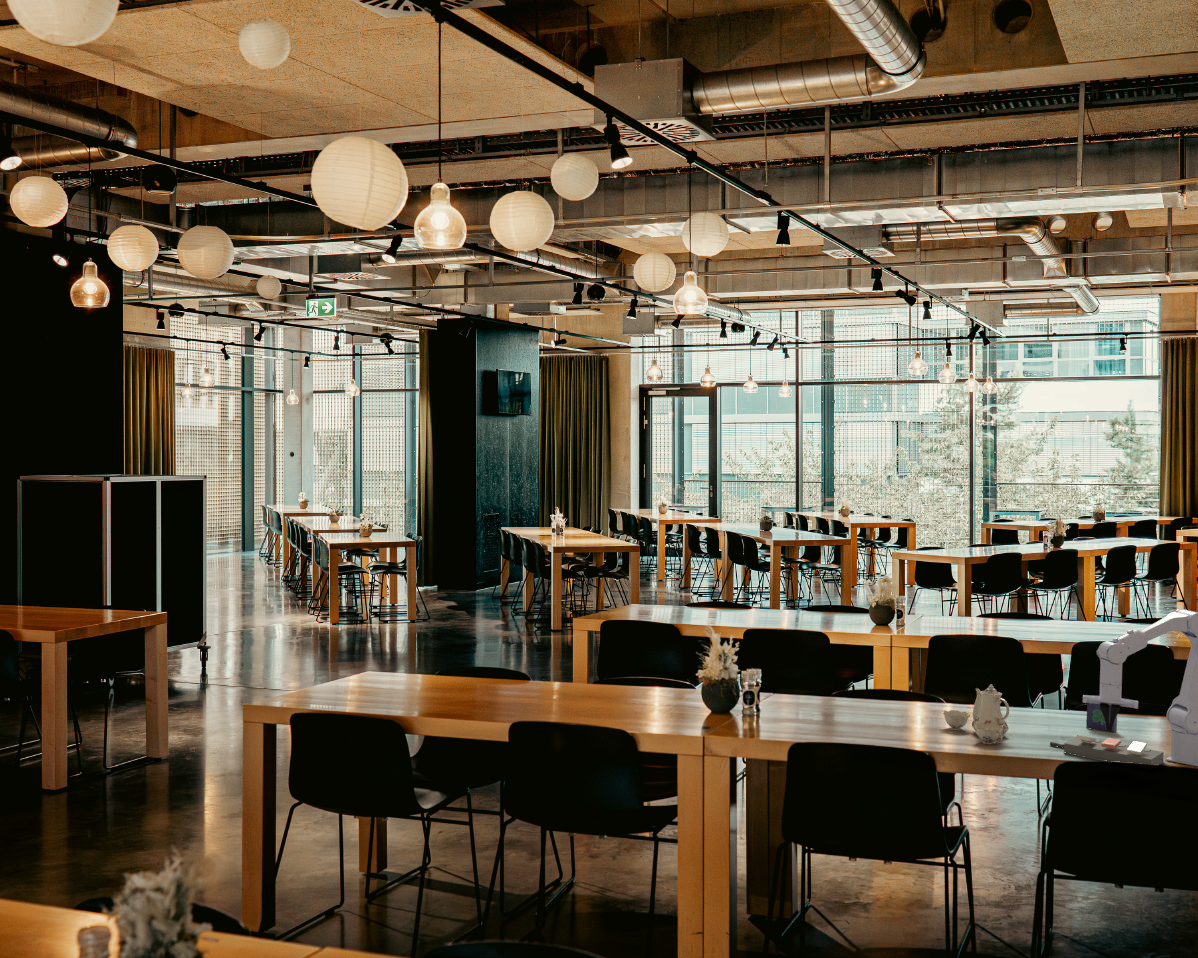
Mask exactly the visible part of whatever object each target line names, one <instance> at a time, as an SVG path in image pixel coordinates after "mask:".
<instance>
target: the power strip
mask: <svg viewBox="0 0 1198 958" xmlns="http://www.w3.org/2000/svg"><path fill="white" fill-rule="evenodd" d="M1103 741H1104V740H1100V739H1096V742H1091V743H1086V742H1081V739H1077V736H1076V737H1074V738H1072V739H1070V740H1068V741H1066V742H1063V743H1058V742H1054V741H1050V742H1049V746H1050V745H1052V746H1051V747H1054V746H1058V747H1057V748H1059V747H1063V748H1062V749H1063V753H1064V752H1066V753H1071V754H1076V755H1079V756H1078V757H1081V756H1085V757H1084V758H1086V757H1087V759H1091V758H1092V760H1095V761H1096V760H1098V761H1101V760H1107V761H1120V762H1133V763H1142V764H1160V765H1161V764H1163V763H1164V759H1165V758H1164V754H1165V753H1164V751H1160V750H1155V749H1150V748H1147V747H1146V748H1145V750H1144V751H1143V753H1142V754H1141V755H1137V754H1132V753H1127V749H1128V747H1129V746H1130V745H1128V744H1124V743H1121V744H1120V745H1119V746H1117V748H1115V749H1112V748H1107V747H1101V743H1102V742H1103ZM1076 755H1075V756H1076ZM1107 761H1106V762H1107Z"/></svg>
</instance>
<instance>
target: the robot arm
mask: <svg viewBox="0 0 1198 958" xmlns="http://www.w3.org/2000/svg"><path fill="white" fill-rule="evenodd" d="M1173 631H1175V632H1181V633H1182V634H1184V636H1185V637H1186V638H1187V639H1188V641H1189V642H1190V644H1191V646H1190V650H1189V654H1188V658H1187V662H1186V666H1185V670H1184V675H1183V678H1182V679H1183V680H1182V682H1181V686H1180V687H1181V688H1180V692H1179V695H1178V696H1176V697H1175V698H1174V699H1172V703H1171V704H1170V705H1171V706H1169V708H1167V709H1168V710H1167V712H1166V719H1167V722H1168V723H1169V724H1170V728H1171V729H1170V756H1168V757H1166V758H1165V761H1168V762H1173V763H1178V764H1185V765H1189V766H1195V767H1198V611H1197V612H1196V611H1193V610H1187V609H1186V608H1179V609H1176V610H1175V611H1172V612H1169V613H1168V614H1167V615H1166V616H1164V617H1163V618H1161V619H1159V620H1158V621H1155V622H1154V623H1152V624H1151V625H1148V626H1147V627H1145V628H1143V629H1142V630H1138V629H1128V630H1127V631H1126V632H1127V633H1124V634H1123V635H1121V636H1118V637H1117V636H1116V637H1113V638H1112V641H1108V640H1106V641H1103V642H1102V643H1100V645H1099V646H1098V648H1097V650H1096V655H1097V657H1098V658H1099V661H1100V662H1099V663H1100V665H1099V666H1100V671H1099V673H1100V674H1099V695H1088V694H1083V695H1082V704H1083V703H1085V704H1087V703H1095V704H1100V709H1101V711H1102V713H1103V716H1104V719H1105V722H1106V728H1107V730H1108V731H1112V727H1113V723H1114V720H1115V718H1116V716H1117V717H1118V714H1119V712H1120V710H1121V707H1123V708H1124V707H1126V708H1133V709H1139V701H1138V700H1133V699H1129V698H1122V684H1123V663H1124V662H1126V660H1127V658H1128V657H1129V656H1131V655H1132V654H1135V653H1136V652H1138V651H1140V650H1142V649H1145V648H1146V647H1147V645H1148V642H1149V641H1152V640H1153V639H1156V638H1158V637H1160V636H1163V635H1166V634H1167V633H1170V632H1173ZM1110 705H1111V712H1110V723H1109V708H1110Z"/></svg>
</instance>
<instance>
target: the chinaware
mask: <svg viewBox="0 0 1198 958" xmlns="http://www.w3.org/2000/svg"><path fill="white" fill-rule="evenodd" d="M975 691H976V699H975V700H974V701H975V702H974V704H973V708H972V709H973V710H972V719H973V721H972V722H971V726H972V728H973V729H974V731H975V734H976V736H978V738H979V739H980V740H981V742H982V743H983V744H985V745H995V744H997V743H1001V742H1002V741H1003V738H1004V737H1005V734H1006V733H1007V732H1008V731H1009V726H1008V723H1007V721H1006V719H1007V718H1008V717H1009V715H1010V705H1009V703H1008V702H1007V700H1006V699H1004V698H1002V695H1003V693H1002V692H999V691H997V689H996V688H994V686H993V684H989V685H988V687H987V688H986V689H985V690H982V691H981V690H980V689H979V688H975ZM1002 702H1003V703H1004V704H1005V708H1006V709H1005V710H1006V713H1005V715H1004V716H1003V713H1002V710H1001V704H1002ZM942 715H943V716H944V719H945V723H946V724H947V725H948V726H949V727H950V728H949V730H953V731H962V728H963V727H964V726H966V724H967V723H968V720H969V718H970V717H971V714H970V713H969V712H968V711H963V712H961V711H959V710H956V709H951V710H949V711H948V710H942ZM998 739H1000V740H999V741H998ZM996 742H997V743H996Z"/></svg>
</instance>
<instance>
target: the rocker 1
mask: <svg viewBox="0 0 1198 958" xmlns="http://www.w3.org/2000/svg"><path fill="white" fill-rule="evenodd" d="M1076 737H1077V739H1081V742H1086V743H1091V742H1096V740H1097V739H1096V738H1093V737H1090V736H1085V735H1079V734H1078V735H1076Z"/></svg>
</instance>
